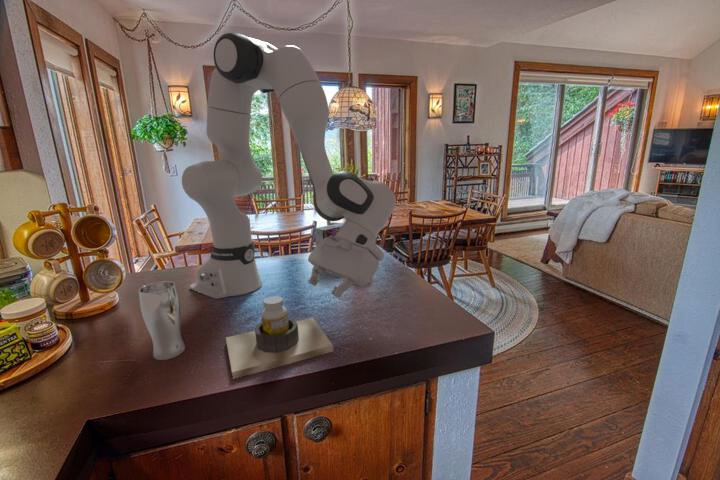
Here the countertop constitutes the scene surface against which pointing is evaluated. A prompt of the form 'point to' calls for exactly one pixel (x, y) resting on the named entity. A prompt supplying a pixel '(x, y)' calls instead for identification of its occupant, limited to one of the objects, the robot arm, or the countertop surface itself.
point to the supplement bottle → (274, 316)
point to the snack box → (326, 232)
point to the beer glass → (162, 318)
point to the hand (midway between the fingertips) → (322, 289)
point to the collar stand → (276, 347)
